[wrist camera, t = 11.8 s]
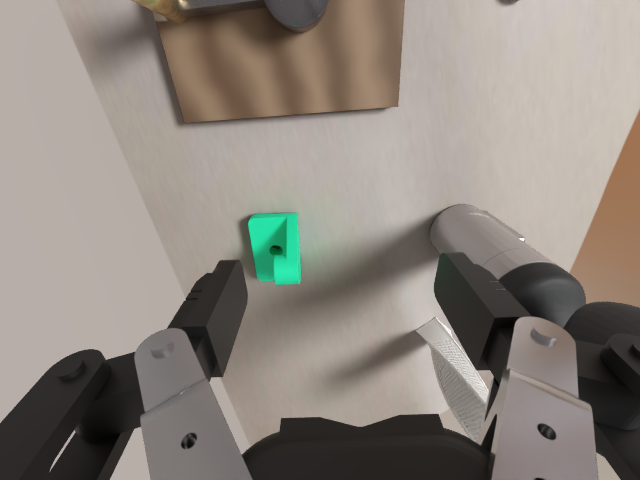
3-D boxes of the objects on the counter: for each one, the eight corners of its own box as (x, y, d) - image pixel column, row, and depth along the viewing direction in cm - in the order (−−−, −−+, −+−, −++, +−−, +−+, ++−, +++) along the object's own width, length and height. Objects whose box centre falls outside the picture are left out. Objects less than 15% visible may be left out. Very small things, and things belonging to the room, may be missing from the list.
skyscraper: (407, 329, 59) (478, 501, 34) (435, 310, 57) (534, 479, 32) (428, 346, 62) (508, 516, 37) (457, 328, 59) (562, 497, 35)
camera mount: (250, 211, 45) (235, 243, 36) (297, 210, 45) (294, 240, 36) (259, 272, 51) (249, 312, 42) (301, 270, 51) (300, 309, 42)
